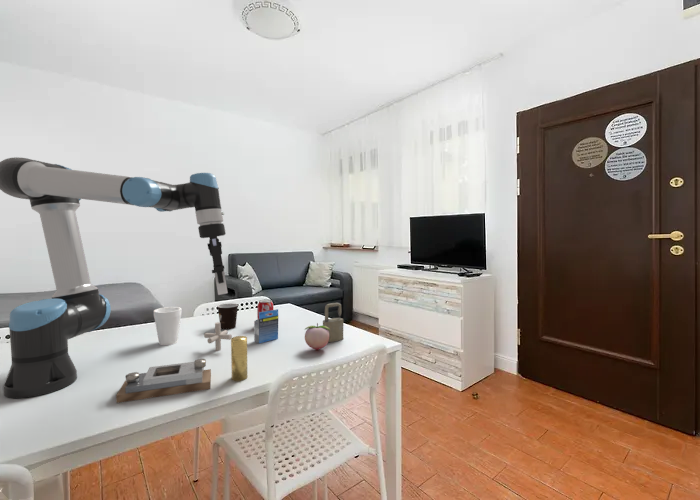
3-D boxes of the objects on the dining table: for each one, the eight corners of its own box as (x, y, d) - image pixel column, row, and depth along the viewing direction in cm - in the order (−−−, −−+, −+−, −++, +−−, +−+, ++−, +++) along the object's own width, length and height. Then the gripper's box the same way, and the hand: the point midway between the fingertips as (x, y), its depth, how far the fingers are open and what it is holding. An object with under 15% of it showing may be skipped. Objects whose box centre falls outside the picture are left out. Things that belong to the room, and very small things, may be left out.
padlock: (344, 339, 136) (344, 303, 135) (326, 343, 131) (326, 305, 130) (339, 337, 139) (339, 301, 138) (321, 340, 135) (321, 303, 134)
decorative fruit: (306, 355, 118) (306, 327, 118) (303, 347, 126) (303, 321, 126) (332, 353, 121) (332, 325, 120) (327, 345, 129) (327, 319, 128)
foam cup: (186, 338, 136) (185, 306, 135) (175, 346, 126) (174, 312, 126) (162, 338, 135) (161, 306, 134) (149, 346, 126) (148, 312, 125)
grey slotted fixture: (121, 394, 86) (121, 376, 86) (130, 380, 94) (129, 363, 94) (205, 382, 93) (205, 365, 93) (206, 369, 101) (206, 354, 101)
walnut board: (116, 403, 85) (116, 395, 85) (125, 387, 94) (125, 380, 94) (210, 388, 93) (210, 381, 93) (210, 375, 102) (210, 369, 102)
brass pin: (231, 382, 97) (231, 341, 97) (231, 375, 102) (230, 336, 101) (248, 379, 99) (247, 339, 98) (246, 373, 103) (246, 335, 103)
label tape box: (273, 336, 139) (273, 307, 138) (278, 338, 136) (278, 309, 135) (254, 341, 133) (253, 310, 132) (259, 344, 130) (258, 312, 129)
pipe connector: (222, 355, 117) (222, 327, 117) (197, 353, 119) (196, 325, 119) (237, 346, 127) (237, 320, 127) (214, 344, 129) (213, 318, 129)
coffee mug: (218, 325, 154) (218, 304, 154) (238, 324, 157) (238, 302, 156) (216, 333, 143) (216, 309, 142) (237, 331, 146) (237, 308, 145)
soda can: (276, 326, 154) (276, 300, 153) (265, 329, 148) (265, 303, 147) (265, 323, 158) (265, 298, 157) (254, 327, 152) (253, 301, 151)
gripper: (225, 219, 94) (237, 293, 95) (222, 225, 117) (232, 285, 118) (196, 222, 91) (209, 299, 92) (199, 228, 114) (209, 289, 115)
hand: (222, 291), depth 105 cm, fingers open, 13 cm apart
